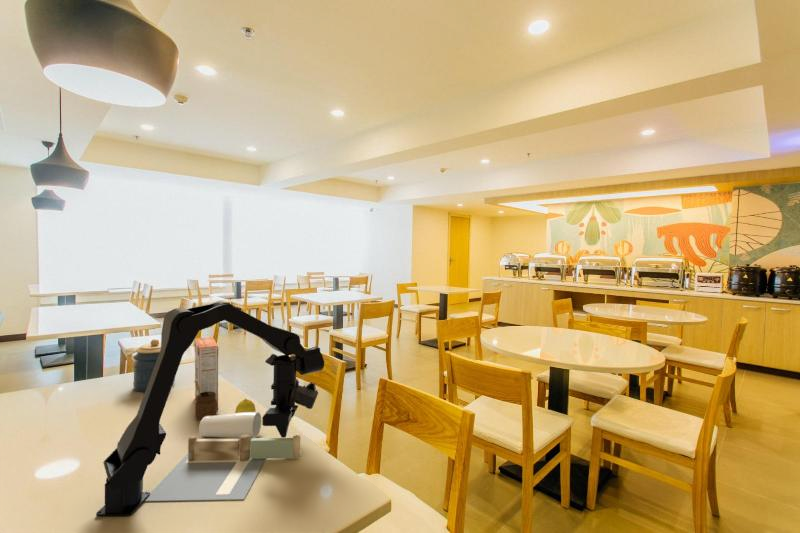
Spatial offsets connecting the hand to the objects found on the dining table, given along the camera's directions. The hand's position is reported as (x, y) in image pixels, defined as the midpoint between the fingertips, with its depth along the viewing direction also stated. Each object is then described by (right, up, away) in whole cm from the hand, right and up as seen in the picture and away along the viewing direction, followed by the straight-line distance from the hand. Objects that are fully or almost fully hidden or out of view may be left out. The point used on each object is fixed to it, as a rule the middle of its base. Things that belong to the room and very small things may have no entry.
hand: (283, 436), depth 97 cm
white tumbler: (-24, +1, +5) cm, 24 cm away
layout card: (-12, -3, -12) cm, 18 cm away
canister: (-61, 0, +40) cm, 73 cm away
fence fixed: (-14, -3, -7) cm, 16 cm away
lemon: (-15, -2, +11) cm, 19 cm away
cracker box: (-34, -1, +26) cm, 43 cm away
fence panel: (0, -2, -6) cm, 6 cm away
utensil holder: (-29, -2, +16) cm, 33 cm away
